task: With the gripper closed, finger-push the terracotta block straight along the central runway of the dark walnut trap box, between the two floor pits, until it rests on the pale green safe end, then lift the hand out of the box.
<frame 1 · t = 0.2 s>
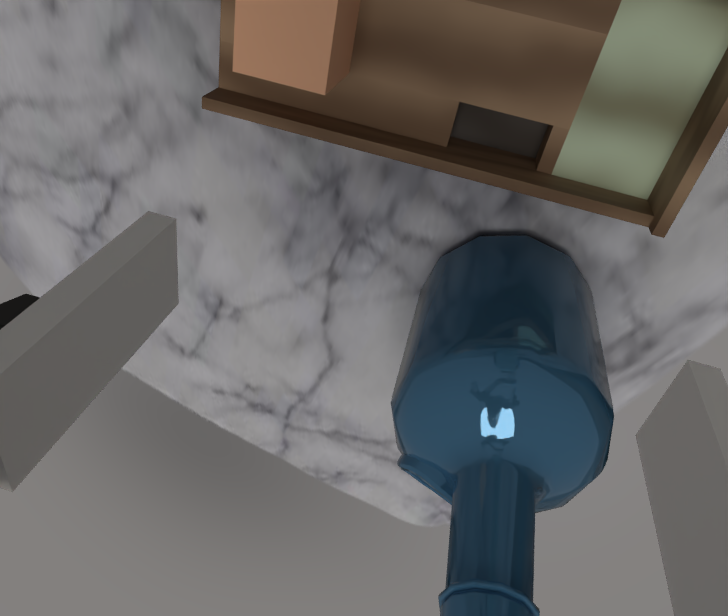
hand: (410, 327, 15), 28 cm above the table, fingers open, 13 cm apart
block: (313, 16, 35), point 2 cm above the table, touching trap box
trap box: (459, 44, 36), on the table
wine bottle: (501, 300, 46), on the table
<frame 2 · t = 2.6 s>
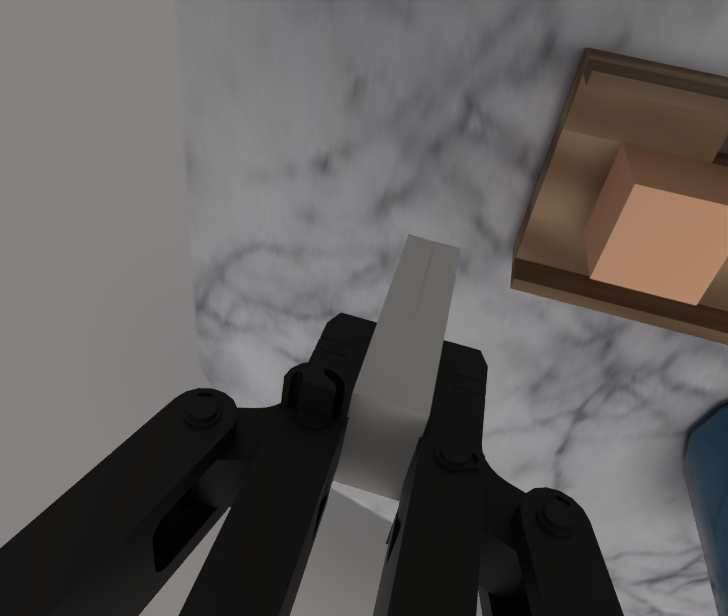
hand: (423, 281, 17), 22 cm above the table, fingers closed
block: (650, 200, 32), point 2 cm above the table, touching trap box
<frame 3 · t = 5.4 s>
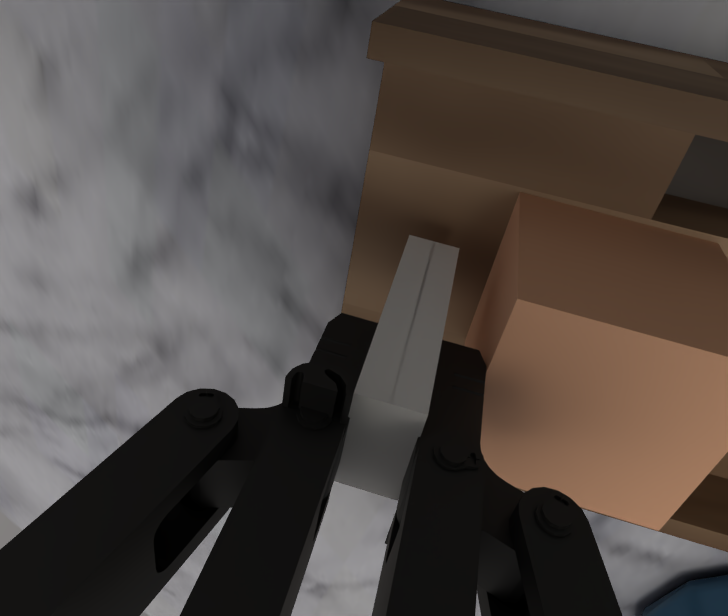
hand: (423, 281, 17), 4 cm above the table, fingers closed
block: (578, 296, 17), point 3 cm above the table, touching gripper
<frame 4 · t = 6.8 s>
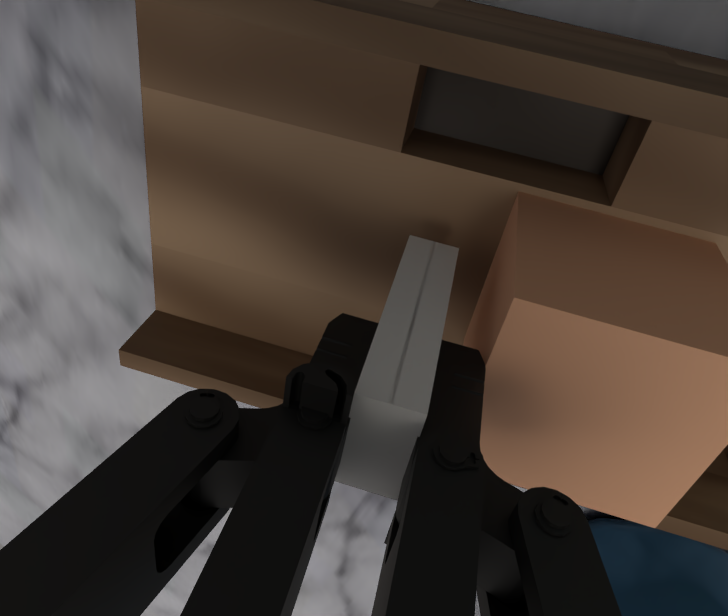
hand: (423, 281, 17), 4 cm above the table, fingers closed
block: (576, 295, 17), point 3 cm above the table, touching gripper, trap box
trap box: (597, 255, 19), on the table
wine bottle: (620, 587, 29), on the table
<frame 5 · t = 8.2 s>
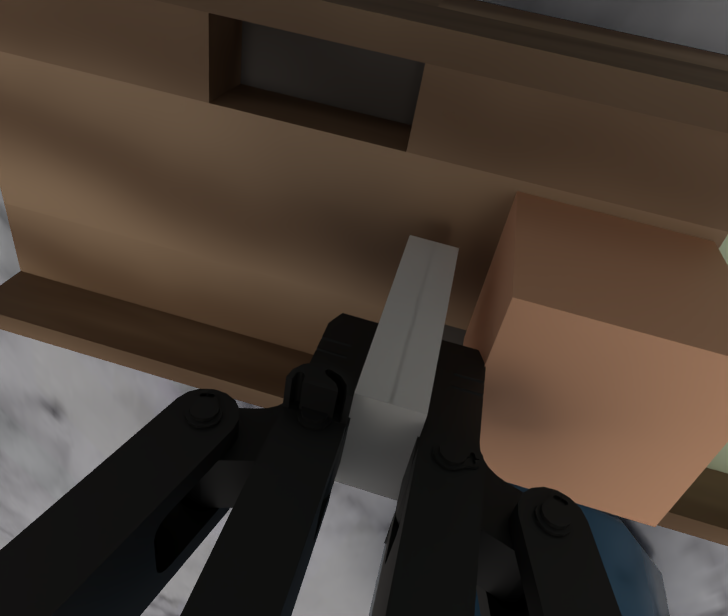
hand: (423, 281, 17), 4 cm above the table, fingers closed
block: (575, 294, 17), point 3 cm above the table, touching gripper
trap box: (430, 209, 20), on the table
wine bottle: (512, 550, 30), on the table
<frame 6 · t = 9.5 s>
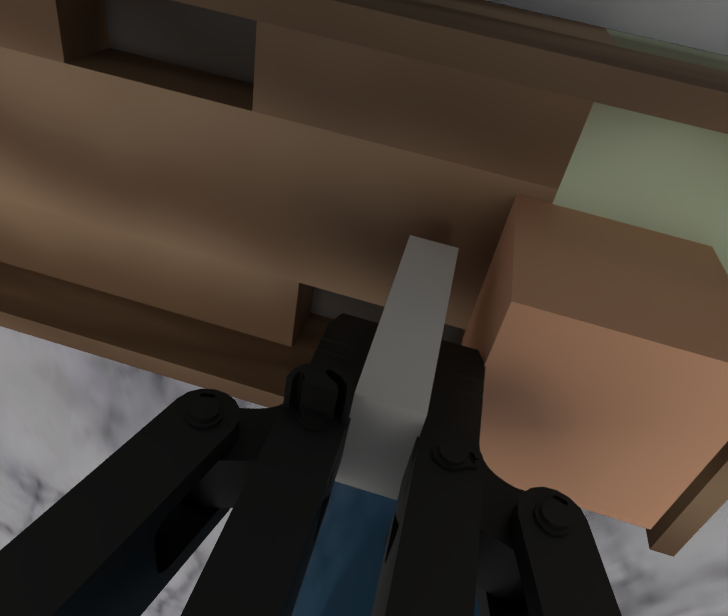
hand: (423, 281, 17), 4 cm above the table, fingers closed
block: (573, 297, 18), point 2 cm above the table, touching gripper, trap box
trap box: (302, 174, 20), on the table
wine bottle: (423, 522, 30), on the table
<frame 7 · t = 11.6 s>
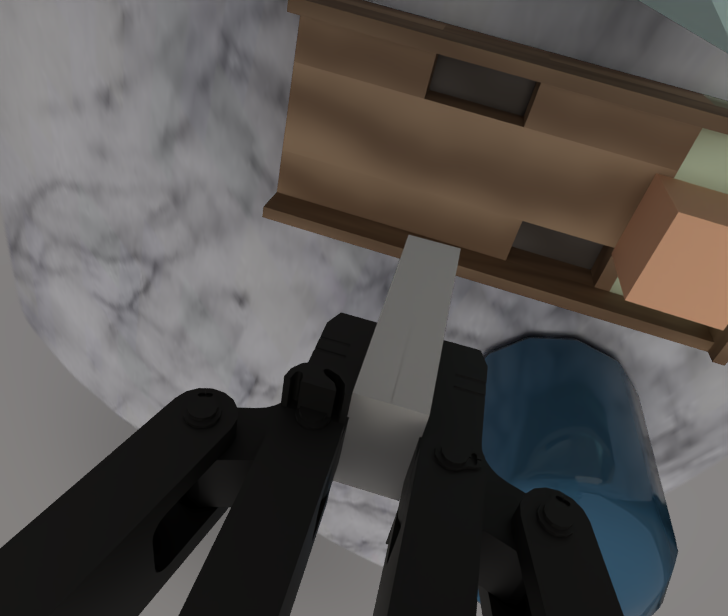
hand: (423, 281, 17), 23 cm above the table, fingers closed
block: (677, 228, 34), point 2 cm above the table, touching trap box
trap box: (522, 162, 36), on the table
wine bottle: (544, 394, 46), on the table
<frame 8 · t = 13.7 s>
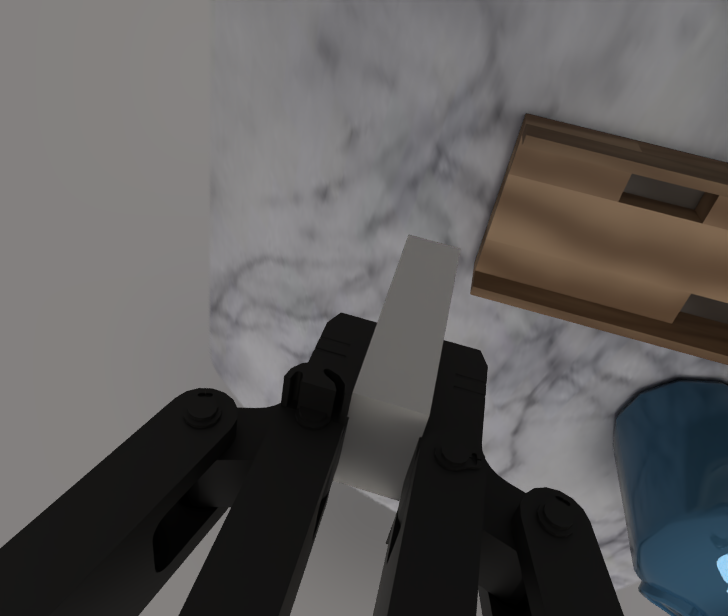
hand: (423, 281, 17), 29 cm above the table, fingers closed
trap box: (688, 243, 44), on the table
wine bottle: (683, 426, 54), on the table
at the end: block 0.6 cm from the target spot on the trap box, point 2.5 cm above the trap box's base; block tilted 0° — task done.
